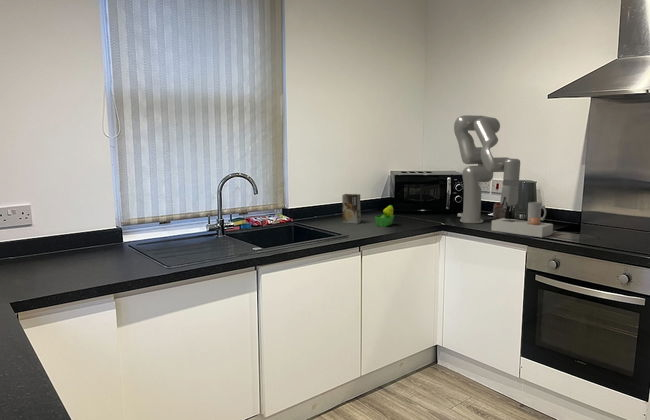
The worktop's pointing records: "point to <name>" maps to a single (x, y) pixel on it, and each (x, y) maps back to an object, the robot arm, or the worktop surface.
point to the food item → (498, 211)
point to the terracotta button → (534, 220)
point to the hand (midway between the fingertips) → (508, 218)
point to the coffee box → (351, 208)
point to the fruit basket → (385, 217)
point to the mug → (536, 210)
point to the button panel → (522, 227)
